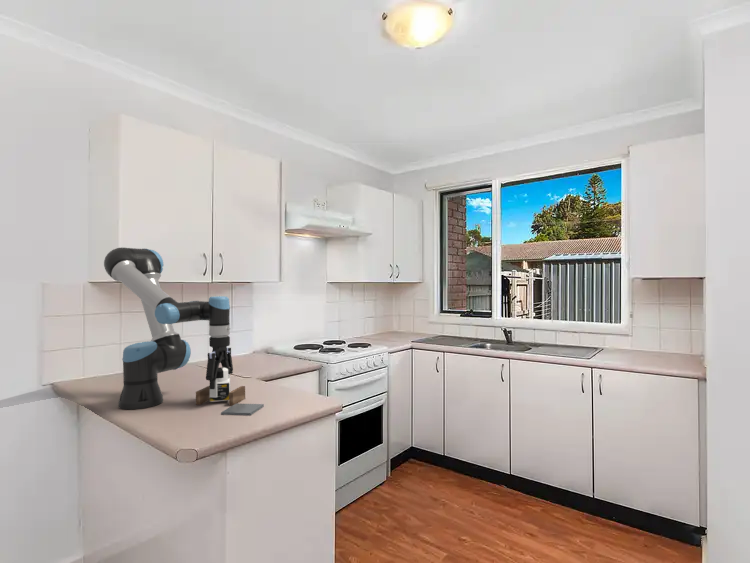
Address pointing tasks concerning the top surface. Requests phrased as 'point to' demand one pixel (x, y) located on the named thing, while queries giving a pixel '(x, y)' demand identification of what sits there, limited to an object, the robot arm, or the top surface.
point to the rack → (234, 395)
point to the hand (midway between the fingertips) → (220, 393)
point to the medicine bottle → (222, 385)
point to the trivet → (242, 409)
